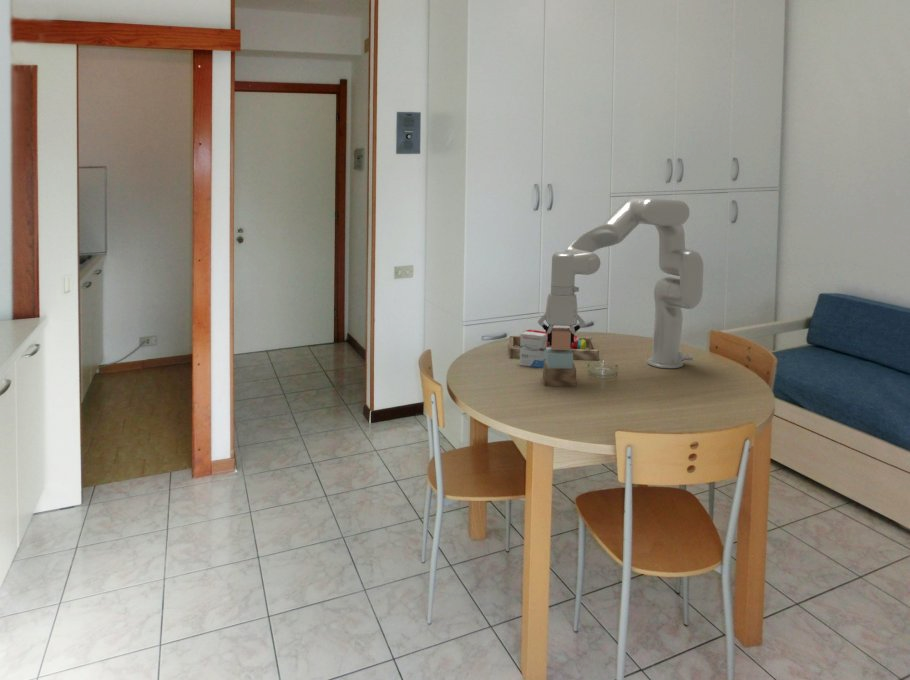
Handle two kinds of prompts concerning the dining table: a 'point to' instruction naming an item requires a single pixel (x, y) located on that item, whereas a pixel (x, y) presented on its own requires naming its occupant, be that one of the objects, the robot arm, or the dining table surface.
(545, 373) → the walnut block
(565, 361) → the teal block
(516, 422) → the dining table surface
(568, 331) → the rust cube
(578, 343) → the water bottle
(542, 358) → the ink box
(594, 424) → the dining table surface
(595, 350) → the bottle cradle
